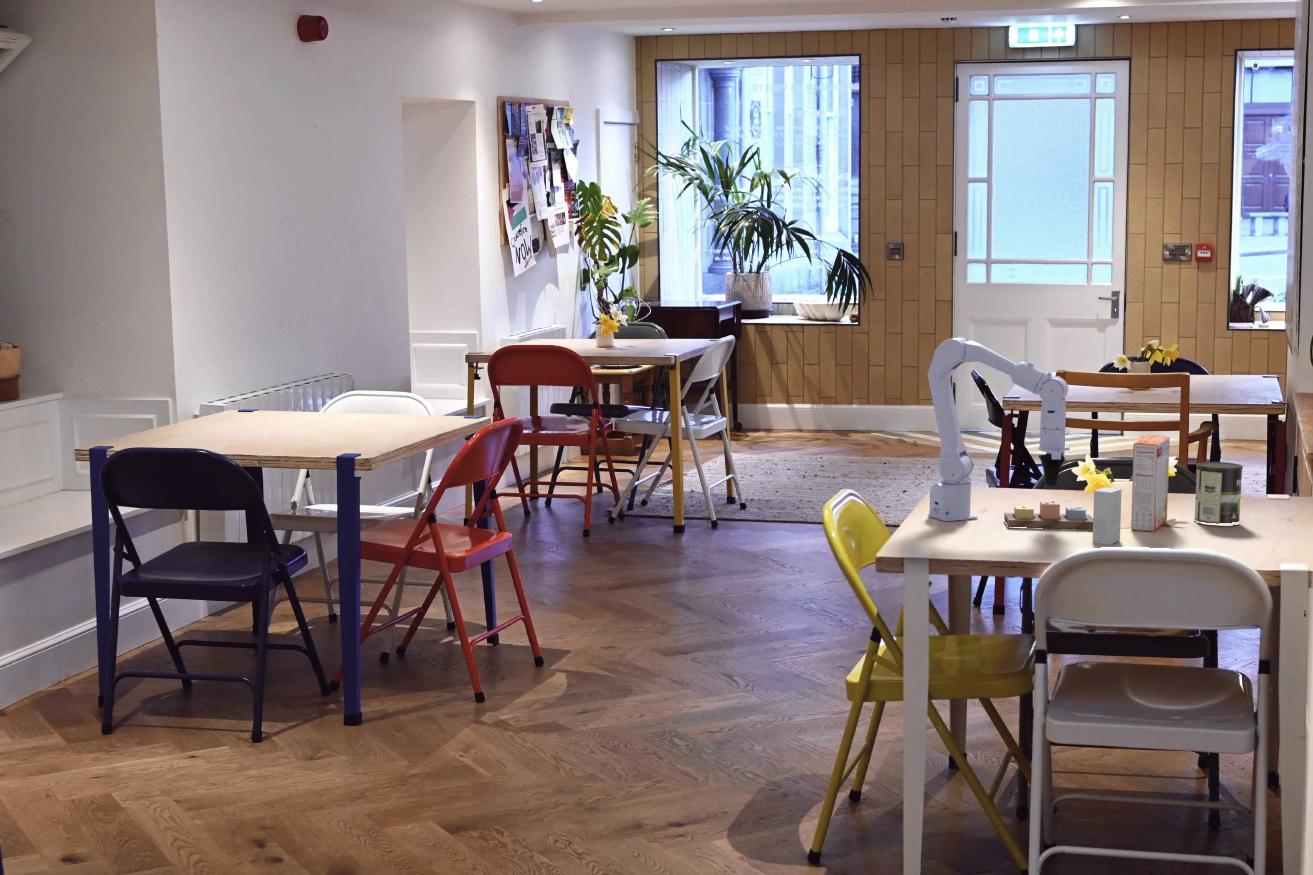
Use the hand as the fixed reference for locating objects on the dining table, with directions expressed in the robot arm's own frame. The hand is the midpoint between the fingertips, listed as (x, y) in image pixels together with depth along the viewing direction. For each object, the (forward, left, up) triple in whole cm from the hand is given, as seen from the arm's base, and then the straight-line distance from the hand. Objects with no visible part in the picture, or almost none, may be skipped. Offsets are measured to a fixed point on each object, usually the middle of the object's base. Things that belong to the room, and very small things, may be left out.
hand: (1050, 485), depth 330 cm
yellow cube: (-5, +3, -9) cm, 11 cm away
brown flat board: (0, 0, -10) cm, 10 cm away
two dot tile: (0, 0, -8) cm, 8 cm away
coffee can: (+39, -13, -10) cm, 42 cm away
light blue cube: (+5, -3, -9) cm, 11 cm away
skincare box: (0, -20, -10) cm, 22 cm away
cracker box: (+21, -10, -10) cm, 25 cm away
